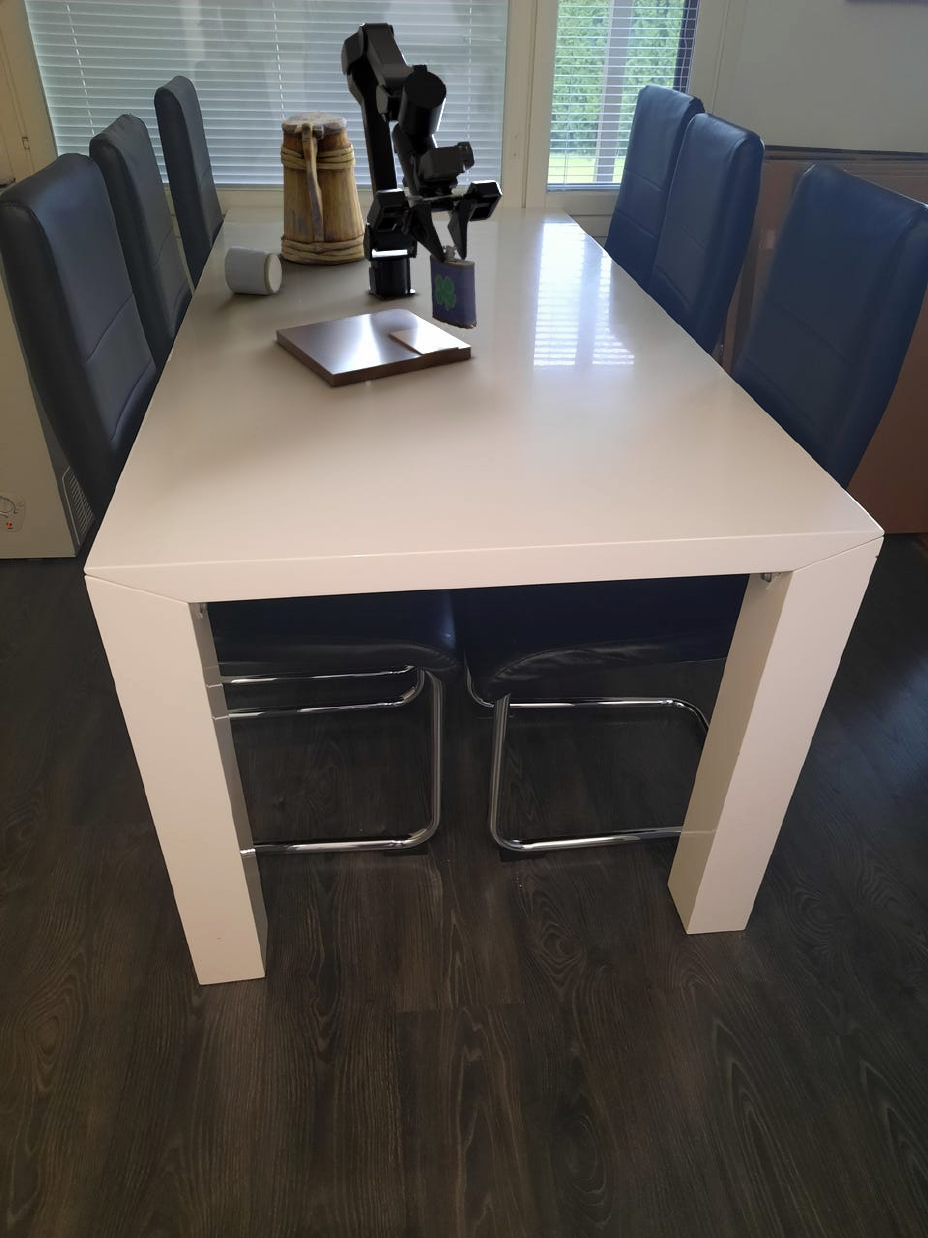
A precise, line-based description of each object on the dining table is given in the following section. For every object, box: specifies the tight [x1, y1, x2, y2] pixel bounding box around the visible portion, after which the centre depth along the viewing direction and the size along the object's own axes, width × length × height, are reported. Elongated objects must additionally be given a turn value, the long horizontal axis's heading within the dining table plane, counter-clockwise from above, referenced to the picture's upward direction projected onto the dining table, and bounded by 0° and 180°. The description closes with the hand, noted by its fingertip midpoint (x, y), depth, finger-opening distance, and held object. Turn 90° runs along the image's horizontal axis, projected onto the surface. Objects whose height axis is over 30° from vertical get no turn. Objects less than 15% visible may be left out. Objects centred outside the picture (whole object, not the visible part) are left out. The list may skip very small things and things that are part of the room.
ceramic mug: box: [224, 245, 283, 296], centre depth 153 cm, size 11×8×8 cm
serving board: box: [275, 307, 472, 388], centre depth 129 cm, size 22×22×2 cm
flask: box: [429, 244, 478, 330], centre depth 123 cm, size 9×3×11 cm, turn 38°
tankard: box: [280, 110, 366, 266], centre depth 167 cm, size 18×24×25 cm
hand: (454, 259), depth 121 cm, fingers closed on flask, 3 cm apart
